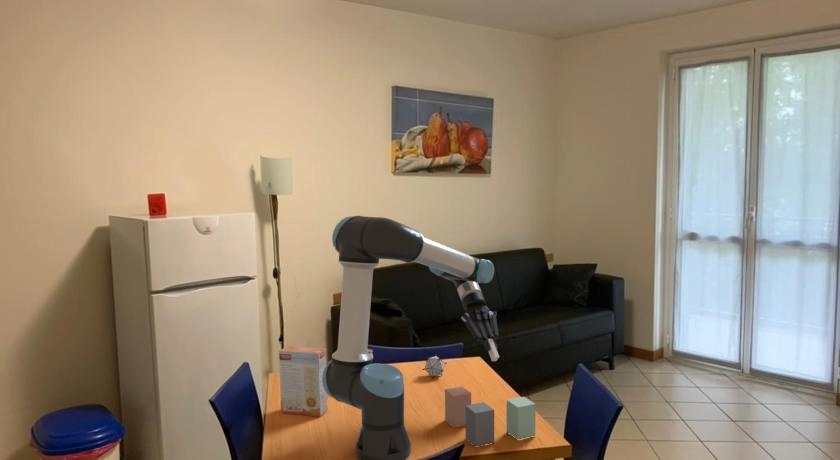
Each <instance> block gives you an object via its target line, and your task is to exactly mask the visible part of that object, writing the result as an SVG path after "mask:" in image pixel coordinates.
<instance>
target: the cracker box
mask: <svg viewBox="0 0 840 460" xmlns="http://www.w3.org/2000/svg"><path fill="white" fill-rule="evenodd" d="M326 351H327V349H326V348H322V347H320V348H319V347H306V346H305V347H304V346H291V345H288V346H285V347H284V348H282V349H280V350H278V355H279V357H278V358H279V359H278V360H279V361H278V362H279V388H280V389H279V391H280V392H279V393H280V410H281V411H280V413H281V414H291V415H301V416H309V417H322V416H323V414H325V413H326V412H327V411H328V394H327V392H326V391H325V389H324V387H323V382H322V375H323V371H324V368H325V367H327V356H326V355H327V353H326Z"/></svg>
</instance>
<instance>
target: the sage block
mask: <svg viewBox="0 0 840 460" xmlns="http://www.w3.org/2000/svg"><path fill="white" fill-rule="evenodd" d="M507 432H508V433H510V434H511V435H513V436H514V437H515V438H517V439H522V438H526V437H531V436H535V437H536V403H535V402H533V401H532V400H531V399H528V397H527V398H526V397H525V396H520V397H515V398H510V399H506V433H507ZM508 433H507V434H508Z"/></svg>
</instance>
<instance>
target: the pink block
mask: <svg viewBox="0 0 840 460" xmlns="http://www.w3.org/2000/svg"><path fill="white" fill-rule="evenodd" d="M471 404H472V392H471V391H470V390H469V389H466V388H465V387H464V386H463V385H462V386H456V387H450V388H444V420H445V422H447V424H449V426H450V427H452V428H453V429H455V428H460V427H466V405H471Z"/></svg>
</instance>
